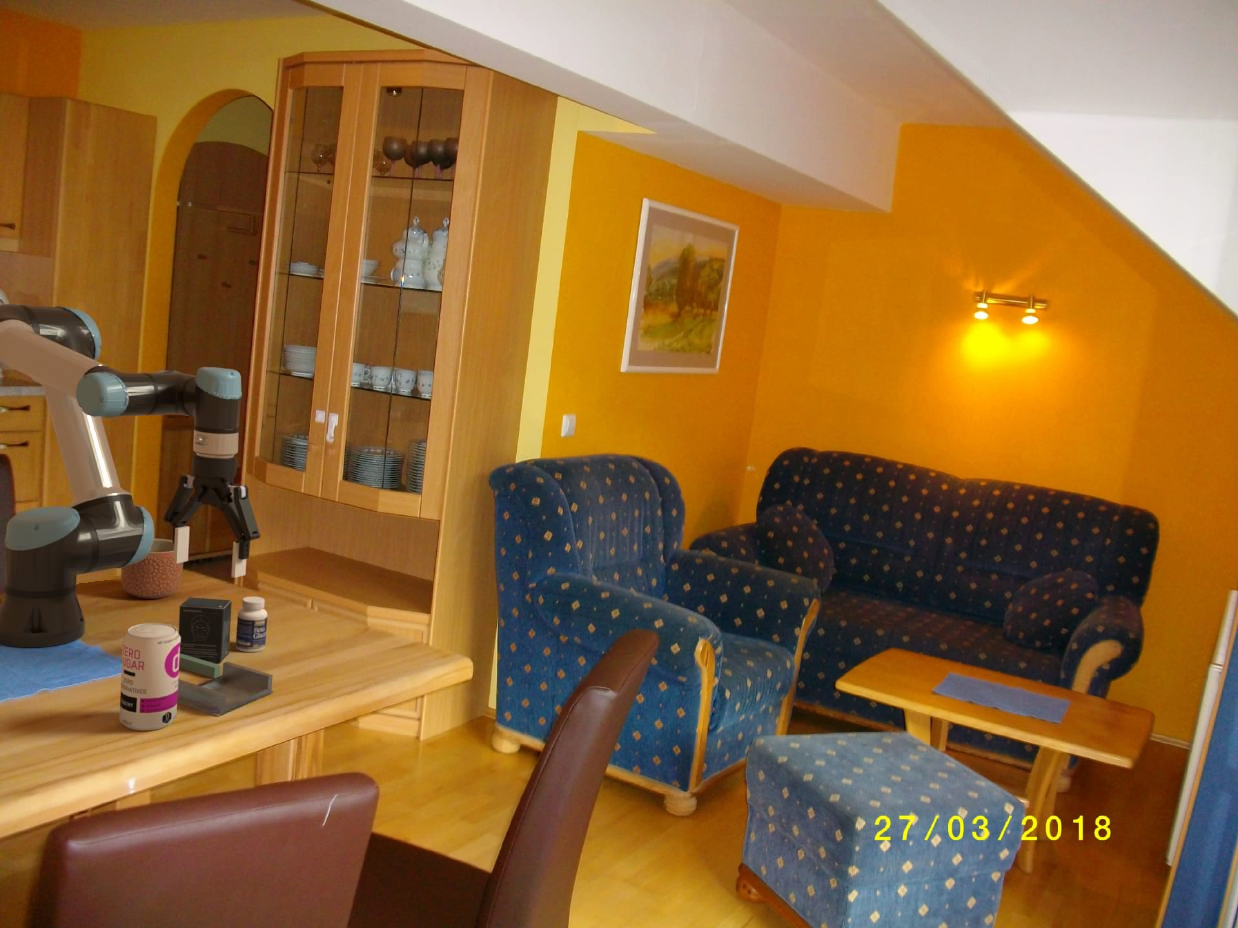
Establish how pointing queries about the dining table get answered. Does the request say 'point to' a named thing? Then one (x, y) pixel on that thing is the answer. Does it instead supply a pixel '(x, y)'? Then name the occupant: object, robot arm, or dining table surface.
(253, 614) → the pill bottle
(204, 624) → the box
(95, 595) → the dining table surface
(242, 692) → the keeper
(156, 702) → the supplement can
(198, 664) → the green bar
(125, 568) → the planter
